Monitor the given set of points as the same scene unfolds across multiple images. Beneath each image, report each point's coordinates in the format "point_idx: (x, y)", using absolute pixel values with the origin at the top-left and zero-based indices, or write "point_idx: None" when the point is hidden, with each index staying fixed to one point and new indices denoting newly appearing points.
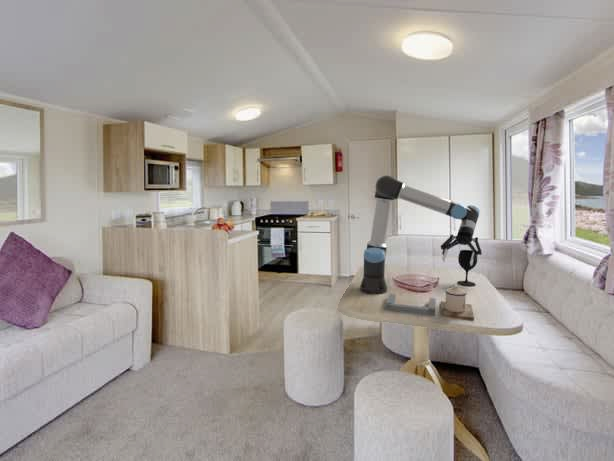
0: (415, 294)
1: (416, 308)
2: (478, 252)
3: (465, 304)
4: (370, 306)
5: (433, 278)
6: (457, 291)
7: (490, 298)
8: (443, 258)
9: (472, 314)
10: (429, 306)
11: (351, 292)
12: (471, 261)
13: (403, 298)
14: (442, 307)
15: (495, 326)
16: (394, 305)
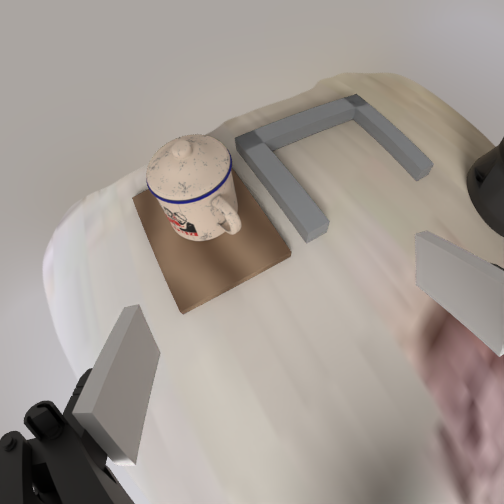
0: None
1: (284, 118)
2: (36, 442)
3: (197, 293)
4: (388, 102)
5: None
6: (171, 145)
7: (173, 488)
8: (417, 233)
9: (142, 216)
10: (267, 150)
11: None
12: (123, 316)
13: (408, 201)
14: (246, 197)
15: (83, 209)
16: (337, 101)
